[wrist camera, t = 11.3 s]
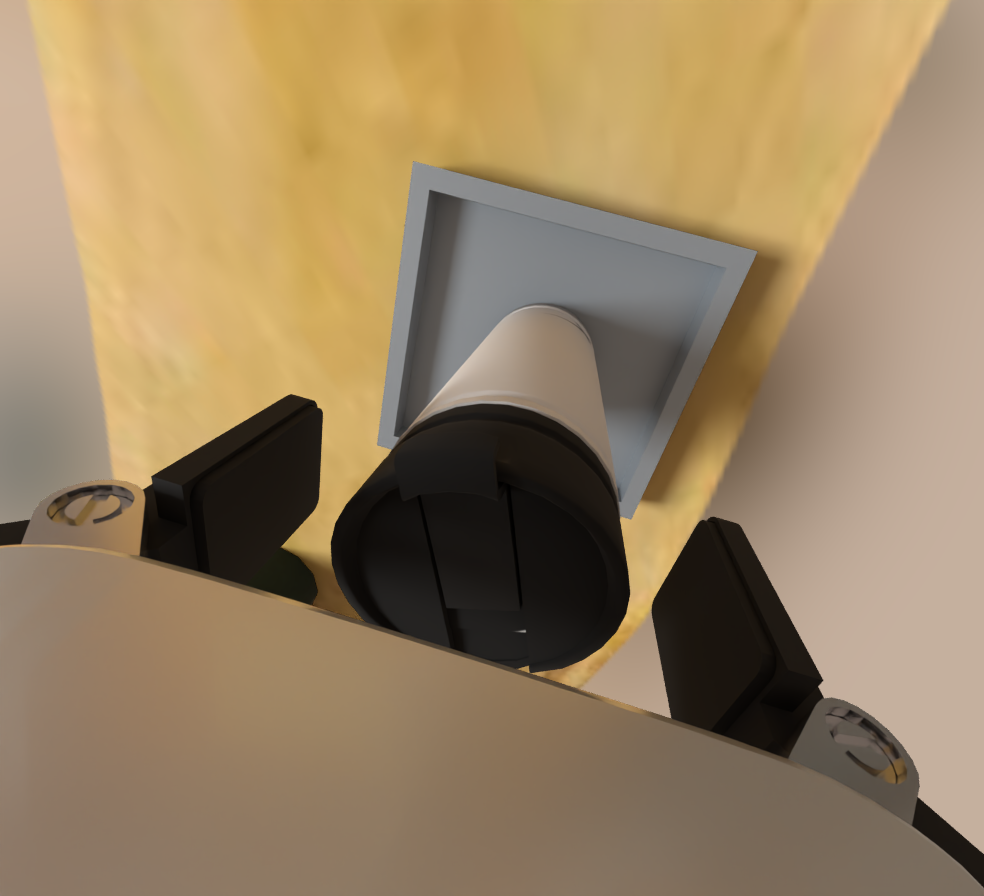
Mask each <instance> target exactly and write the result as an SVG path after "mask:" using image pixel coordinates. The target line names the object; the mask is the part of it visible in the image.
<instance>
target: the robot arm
mask: <svg viewBox="0 0 984 896" xmlns="http://www.w3.org/2000/svg"><path fill="white" fill-rule="evenodd" d="M322 423H323V412H322V410H321V409H320V408H317V404H316V402H315V401H313V400H310V399H306V398H303V397H300V396H296V395H292V394H290V395H288V396H286V397H284V398H283V399H281V400H279V401H277V402H276V403H274V404H272V405H271V406H269V407H267V408H266V409H264V410H262V411H261V412H259V413H257V414H256V415H254V416H252V417H251V418H249V419H247V420H246V421H244V422H242V423H240V424H239V425H237V426H235V427H234V428H232V429H230V430H229V431H227V432H225V433H224V434H222V435H220V436H219V437H217V438H215V439H214V440H212V441H210V442H208V443H207V444H205V445H203V446H202V447H200V448H198V449H197V450H195V451H193V452H192V453H190V454H188V455H187V456H185V457H183V458H182V459H180V460H178V461H176V462H175V463H173V464H171V465H170V466H168V467H166V468H165V469H163V470H161V471H160V472H158V473H156V474H155V475H153V476H151V477H152V483H153V484H152V485H150V486H148V487H147V488H145V489H143V490H142V489H141V488H139V487H138V486H137V485H135V484H132V483H129V482H126V481H119V480H95V481H89V482H82V483H79V484H75V485H72V486H68V487H65V488H63V489H61V490H58V491H56V492H54V493H52V494H50V495H49V496H47V497H46V498H45V499H43V500H42V501H41V502H40V503H39V504H38V506H37V507H36V508H35V510H34V512H33V514H32V517H31V520H24V521H18V522H11V523H5V524H0V896H984V854H983V853H982V852H980V851H979V850H978V849H977V848H976V847H974V846H973V845H972V844H971V843H970V842H969V841H968V840H967V839H965V838H964V837H963V836H962V835H961V834H960V833H958V832H957V831H956V830H955V829H954V828H953V827H951V826H950V825H949V824H948V823H947V822H946V821H945V820H944V819H942V818H941V817H940V816H939V815H938V814H937V813H935V812H934V811H933V810H932V809H931V808H930V807H928V806H927V805H926V804H925V803H924V802H923V801H922V800H920V799H919V798H918V792H919V787H920V786H919V774H918V772H917V770H916V767H915V765H914V763H913V760H912V759H911V757H910V756H909V754H908V753H907V751H906V750H905V749H904V747H903V746H902V744H901V743H900V742H899V741H898V740H897V739H896V738H895V737H894V736H893V734H892V733H891V732H890V731H889V730H888V729H887V728H885V727H884V726H883V725H882V724H881V723H879V722H878V721H877V720H876V719H875V718H874V717H872V716H871V715H869V714H868V713H866V712H865V711H863V710H862V709H860V708H859V707H857V706H855V705H853V704H850V703H848V702H846V701H844V700H840V699H836V698H824V697H823V695H822V693H821V691H820V690H819V688H818V686H819V685H820V684H821V682H822V681H823V679H822V677H821V675H820V674H819V671H818V670H817V668H816V666H815V664H814V662H813V660H812V658H811V656H810V655H809V653H808V651H807V649H806V647H805V645H804V643H803V642H802V640H801V638H800V636H799V634H798V632H797V630H796V629H795V627H794V625H793V623H792V621H791V619H790V617H789V615H788V614H787V612H786V610H785V608H784V606H783V604H782V603H781V601H780V599H779V597H778V595H777V593H776V591H775V590H774V588H773V586H772V584H771V582H770V580H769V579H768V576H767V574H766V573H765V571H764V569H763V567H762V565H761V563H760V561H759V560H758V558H757V556H756V554H755V552H754V550H753V548H752V546H751V545H750V543H749V541H748V539H747V537H746V535H745V534H744V532H743V530H742V528H741V526H740V525H739V524H737V523H734V522H730V521H727V520H723V519H720V518H716V517H710V518H709V519H708V520H707V521H705V520H701V521H700V522H699V523H698V524H697V526H696V527H695V529H694V531H693V533H692V534H691V536H690V538H689V540H688V541H687V543H686V545H685V546H684V548H683V550H682V552H681V553H680V555H679V557H678V558H677V560H676V562H675V564H674V565H673V567H672V569H671V571H670V572H669V574H668V576H667V577H666V579H665V581H664V583H663V584H662V586H661V588H660V589H659V591H658V593H657V595H656V596H655V598H654V600H653V604H652V618H653V623H654V628H655V634H656V639H657V644H658V649H659V654H660V660H661V665H662V670H663V676H664V681H665V687H666V692H667V697H668V702H669V708H670V713H671V718H672V719H671V718H667V717H665V716H662V715H659V714H656V713H653V712H649V711H646V710H643V709H640V708H637V707H634V706H631V705H628V704H624V703H621V702H618V701H615V700H612V699H609V698H605V697H602V696H599V695H596V694H593V693H590V692H586V691H583V690H580V689H577V688H574V687H571V686H568V685H565V684H562V683H558V682H555V681H552V680H549V679H546V678H543V677H540V676H537V675H533V674H530V673H527V672H524V671H521V670H517V669H514V668H511V667H508V666H505V665H502V664H498V663H495V662H492V661H489V660H486V659H482V658H479V657H476V656H473V655H470V654H466V653H463V652H460V651H457V650H454V649H450V648H447V647H444V646H441V645H438V644H434V643H431V642H428V641H425V640H422V639H418V638H415V637H412V636H409V635H406V634H402V633H399V632H396V631H393V630H389V629H386V628H383V627H380V626H377V625H373V624H370V623H367V622H364V621H360V620H357V619H354V618H350V617H347V616H344V615H341V614H337V613H334V612H331V611H328V610H324V609H321V608H318V607H315V606H311V605H308V604H305V603H302V602H298V601H295V600H292V599H288V598H285V597H282V596H279V595H275V594H272V593H269V592H266V591H262V590H259V589H256V588H252V587H249V586H246V584H247V583H248V582H249V581H250V580H251V579H252V578H253V577H254V575H255V574H256V573H257V572H258V571H259V570H260V569H261V568H262V567H263V566H264V565H265V564H266V562H267V561H268V560H269V559H270V558H271V557H272V556H273V555H274V554H275V553H276V552H277V550H278V549H279V548H280V547H281V546H282V545H283V544H284V543H285V542H286V541H287V540H288V538H289V537H290V536H291V535H292V534H293V533H294V532H295V531H296V530H297V529H298V528H299V526H300V525H301V524H302V523H303V522H304V521H305V520H306V519H307V518H308V517H309V516H310V514H311V513H312V512H313V511H314V510H315V508H316V506H317V504H318V500H319V487H320V466H321V444H322Z"/></svg>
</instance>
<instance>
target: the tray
mask: <svg viewBox="0 0 984 896" xmlns="http://www.w3.org/2000/svg"><path fill="white" fill-rule="evenodd" d="M757 252H758V251H755V250H751V249H747V248H743V247H739V246H735V245H732V244H728V243H724V242H720V241H716V240H712V239H709V238H705V237H701V236H697V235H693V234H690V233H686V232H682V231H678V230H674V229H670V228H667V227H663V226H659V225H655V224H651V223H647V222H644V221H640V220H636V219H632V218H628V217H624V216H621V215H617V214H613V213H609V212H605V211H602V210H598V209H594V208H590V207H586V206H582V205H579V204H575V203H571V202H567V201H563V200H559V199H556V198H552V197H548V196H544V195H540V194H536V193H533V192H529V191H525V190H521V189H517V188H514V187H510V186H506V185H502V184H498V183H494V182H491V181H487V180H483V179H479V178H475V177H471V176H468V175H464V174H460V173H456V172H452V171H448V170H445V169H441V168H437V167H433V166H429V165H426V164H422V163H418V162H414V161H413V166H412V174H411V182H410V190H409V198H408V206H407V214H406V221H405V229H404V237H403V245H402V253H401V261H400V269H399V277H398V285H397V292H396V300H395V308H394V316H393V324H392V332H391V340H390V348H389V356H388V363H387V371H386V379H385V387H384V395H383V403H382V411H381V419H380V427H379V434H378V442H377V445H378V446H382V447H385V448H388V449H393V447H394V446H395V444H396V442H397V441H398V439H399V438H400V437H401V436H402V435H403V433H404V432H406V431H407V430H408V428H409V426H410V425H411V424H412V423H413V422H414V421H415V420H416V418H417V417H418V416H419V415H420V414H421V413H422V411H423V410H424V409H425V408H426V407H427V406H428V404H429V403H430V402H431V401H432V400H433V399H434V397H435V396H436V395H437V394H438V393H439V392H440V391H441V389H442V388H443V387H444V386H445V385H446V384H447V382H448V381H449V380H450V379H451V378H452V377H453V375H454V374H455V373H456V372H457V371H458V370H459V368H460V367H461V366H462V365H463V364H464V363H465V362H466V360H467V359H468V358H469V357H470V356H471V355H472V353H473V352H474V351H475V350H476V349H477V348H478V346H479V345H480V344H481V343H482V342H483V341H484V340H485V338H486V337H487V336H488V335H489V334H490V333H491V331H492V330H493V329H494V328H495V327H496V326H497V324H498V323H499V322H500V321H501V320H502V319H503V318H504V317H505V316H506V315H507V314H509V313H510V312H512V311H513V310H515V309H517V308H519V307H522V306H524V305H528V304H534V303H549V304H553V305H557V306H560V307H562V308H564V309H567V310H568V311H570V312H571V313H572V314H574V315H575V316H577V317H578V319H579V320H580V321H581V322H582V323H583V324H584V326H585V327H586V329H587V331H588V333H589V334H590V337H591V341H592V344H593V349H594V355H595V361H596V367H597V372H598V378H599V384H600V390H601V396H602V402H603V408H604V414H605V419H606V425H607V431H608V437H609V443H610V449H611V455H612V461H613V467H614V472H615V479H616V486H617V490H618V497H619V507H620V516H621V517H624V518H628V519H632V517H633V515H634V512H635V510H636V508H637V506H638V504H639V502H640V500H641V498H642V496H643V493H644V491H645V489H646V487H647V485H648V483H649V481H650V479H651V476H652V474H653V472H654V470H655V468H656V466H657V464H658V462H659V460H660V457H661V455H662V453H663V451H664V449H665V447H666V445H667V443H668V440H669V438H670V436H671V434H672V432H673V430H674V428H675V426H676V424H677V421H678V419H679V417H680V415H681V413H682V411H683V409H684V407H685V404H686V402H687V400H688V398H689V396H690V394H691V392H692V390H693V387H694V385H695V383H696V381H697V379H698V377H699V375H700V373H701V371H702V368H703V366H704V364H705V362H706V360H707V358H708V356H709V354H710V351H711V349H712V347H713V345H714V343H715V341H716V339H717V337H718V335H719V332H720V330H721V328H722V326H723V324H724V322H725V320H726V318H727V315H728V313H729V311H730V309H731V307H732V305H733V303H734V301H735V299H736V296H737V294H738V292H739V290H740V288H741V286H742V284H743V282H744V279H745V277H746V275H747V273H748V271H749V269H750V267H751V265H752V262H753V260H754V258H755V256H756V254H757Z"/></svg>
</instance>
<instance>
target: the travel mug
mask: <svg viewBox="0 0 984 896" xmlns="http://www.w3.org/2000/svg"><path fill="white" fill-rule="evenodd" d="M331 557H332V566H333V569H334V572H335V576H336V579H337V582H338V585H339V586H340V588H341V590H342V592H343V593H344V595H345V597H346V599H347V600H348V602H349V603H350V605H351V606H352V607H353V608H354V609H355V611H356V612H357V613H358V614H359V615H360V617H361V618H362V619H363V620H364V621H365V622H367V623H370V624H373V625H377V626H380V627H383V628H386V629H389V630H393V631H396V632H399V633H402V634H406V635H409V636H412V637H415V638H418V639H422V640H425V641H428V642H431V643H434V644H438V645H441V646H444V647H447V648H450V649H454V650H457V651H460V652H463V653H466V654H470V655H473V656H476V657H479V658H482V659H486V660H489V661H492V662H495V663H498V664H502V665H505V666H508V667H511V668H514V669H519V668H522V667H525V666H529V671H530V673H535V672H541V671H548V670H555V669H562V668H565V667H567V666H570V665H572V664H574V663H577V662H579V661H582V660H584V659H585V658H587V657H588V656H590V655H591V654H593V653H594V652H596V651H597V650H599V649H600V648H602V647H603V646H604V645H605V643H606V642H607V641H608V640H609V639H610V638H611V637H612V636H613V635H614V634H615V633H616V632H617V630H618V628H619V626H620V624H621V622H622V621H623V619H624V617H625V615H626V612H627V607H628V602H629V597H630V586H629V575H628V567H627V561H626V555H625V549H624V542H623V536H622V530H621V524H620V507H619V497H618V490H617V486H616V479H615V472H614V467H613V461H612V455H611V449H610V443H609V437H608V431H607V425H606V419H605V414H604V408H603V402H602V396H601V390H600V384H599V378H598V372H597V367H596V361H595V355H594V349H593V344H592V341H591V337H590V334H589V333H588V331H587V329H586V327H585V326H584V324H583V323H582V322H581V321H580V320H579V319H578V317H577V316H575V315H574V314H572V313H571V312H570V311H568V310H567V309H564V308H562V307H560V306H557V305H553V304H549V303H534V304H528V305H524V306H522V307H519V308H517V309H515V310H513V311H512V312H510V313H509V314H507V315H506V316H505V317H504V318H503V319H502V320H501V321H500V322H499V323H498V324H497V326H496V327H495V328H494V329H493V330H492V331H491V333H490V334H489V335H488V336H487V337H486V338H485V340H484V341H483V342H482V343H481V344H480V345H479V346H478V348H477V349H476V350H475V351H474V352H473V353H472V355H471V356H470V357H469V358H468V359H467V360H466V362H465V363H464V364H463V365H462V366H461V367H460V368H459V370H458V371H457V372H456V373H455V374H454V375H453V377H452V378H451V379H450V380H449V381H448V382H447V384H446V385H445V386H444V387H443V388H442V389H441V391H440V392H439V393H438V394H437V395H436V396H435V397H434V399H433V400H432V401H431V402H430V403H429V404H428V406H427V407H426V408H425V409H424V410H423V411H422V413H421V414H420V415H419V416H418V417H417V418H416V420H415V421H414V422H413V423H412V424H411V425H410V426H409V428H408V430H407V431H406V432H404V433H403V435H402V436H401V437H400V438H399V439H398V441H397V442H396V444H395V446H394V447H393V449H392V450H391V452H390V454H389V455H388V457H386V458H385V459H384V460H383V462H382V463H381V464H380V465H379V466H378V468H377V469H376V470H375V471H374V472H373V473H372V475H371V476H370V477H369V478H368V479H367V481H366V482H365V483H364V484H363V485H362V487H361V488H360V489H359V490H358V491H357V493H356V494H355V495H354V496H353V497H352V498H351V500H350V501H349V502H348V503H347V504H346V506H345V508H344V509H343V511H342V513H341V514H340V516H339V518H338V520H337V521H336V523H335V527H334V531H333V536H332V540H331Z"/></svg>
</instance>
